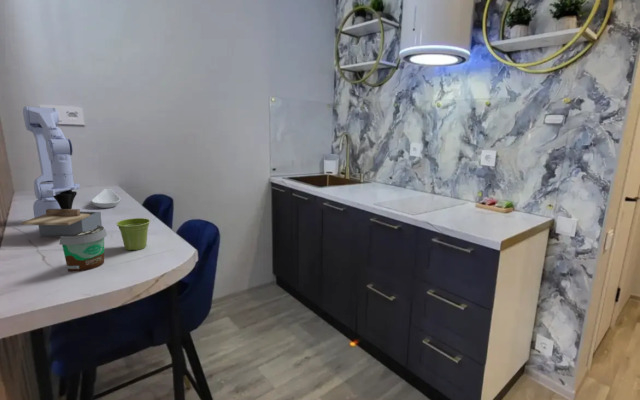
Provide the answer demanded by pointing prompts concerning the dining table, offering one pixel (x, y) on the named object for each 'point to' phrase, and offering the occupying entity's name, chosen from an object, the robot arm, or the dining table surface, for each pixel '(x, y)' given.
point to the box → (72, 226)
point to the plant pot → (134, 233)
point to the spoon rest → (106, 199)
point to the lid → (57, 217)
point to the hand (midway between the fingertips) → (66, 212)
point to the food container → (84, 249)
